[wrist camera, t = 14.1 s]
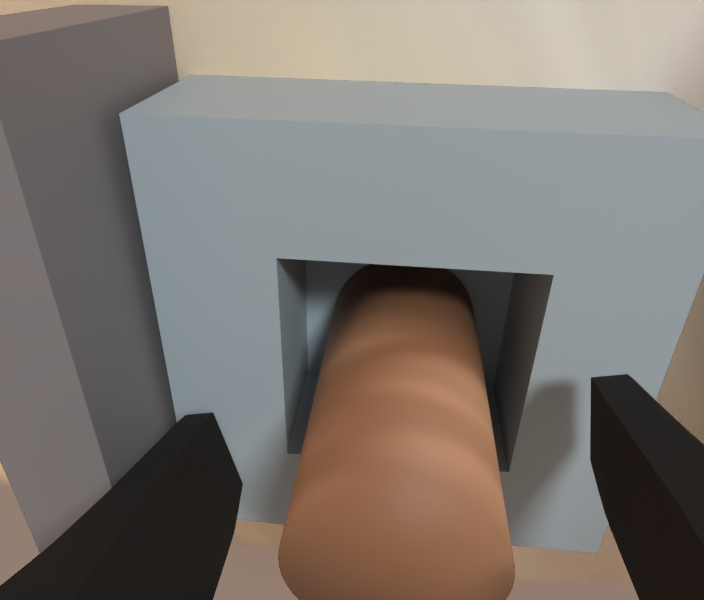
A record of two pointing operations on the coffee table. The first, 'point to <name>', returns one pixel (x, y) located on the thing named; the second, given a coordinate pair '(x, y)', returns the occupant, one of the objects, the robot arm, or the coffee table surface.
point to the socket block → (419, 256)
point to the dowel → (399, 452)
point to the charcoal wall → (76, 258)
